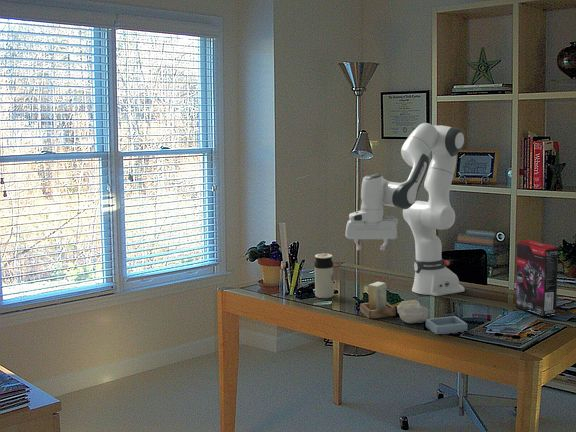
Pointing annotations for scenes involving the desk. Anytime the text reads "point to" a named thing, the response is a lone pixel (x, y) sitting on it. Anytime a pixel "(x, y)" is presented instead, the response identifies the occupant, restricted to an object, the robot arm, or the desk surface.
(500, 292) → the desk surface
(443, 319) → the slate tray
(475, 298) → the desk surface
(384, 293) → the skincare box
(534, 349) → the desk surface
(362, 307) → the tray
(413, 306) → the fossil replica
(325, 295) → the travel mug
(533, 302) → the graphics card box
